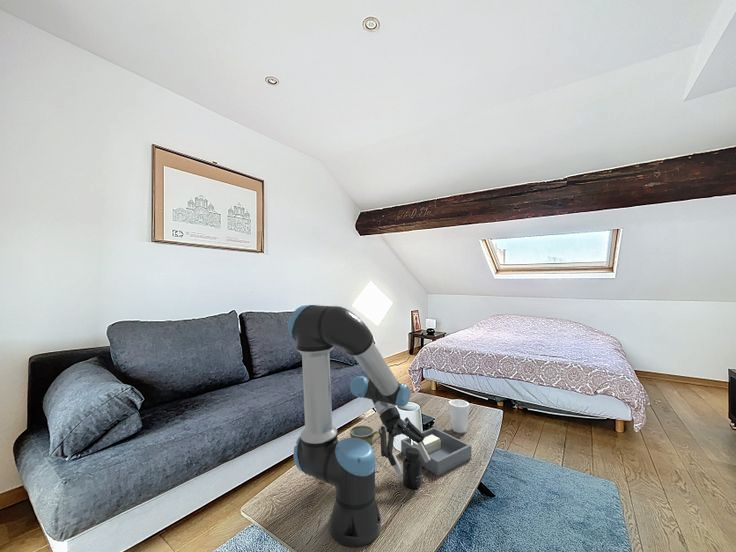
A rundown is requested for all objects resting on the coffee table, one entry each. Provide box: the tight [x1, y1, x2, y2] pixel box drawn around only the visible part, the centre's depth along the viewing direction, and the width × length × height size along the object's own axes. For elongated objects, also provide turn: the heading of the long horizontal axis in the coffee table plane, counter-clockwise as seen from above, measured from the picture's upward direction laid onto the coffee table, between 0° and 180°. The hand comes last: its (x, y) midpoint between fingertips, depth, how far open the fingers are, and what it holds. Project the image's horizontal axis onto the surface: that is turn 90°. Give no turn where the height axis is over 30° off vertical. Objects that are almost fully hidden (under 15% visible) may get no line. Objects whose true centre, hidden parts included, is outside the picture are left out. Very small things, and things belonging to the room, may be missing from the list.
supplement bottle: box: [402, 447, 423, 491], centre depth 112 cm, size 7×7×12 cm
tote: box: [400, 427, 472, 477], centre depth 129 cm, size 20×20×6 cm
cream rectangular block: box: [413, 435, 441, 454], centre depth 133 cm, size 12×5×4 cm, turn 126°
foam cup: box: [448, 399, 470, 434], centre depth 154 cm, size 10×9×13 cm
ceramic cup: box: [349, 424, 380, 447], centre depth 132 cm, size 13×10×10 cm
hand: (414, 467), depth 112 cm, fingers open, 13 cm apart
